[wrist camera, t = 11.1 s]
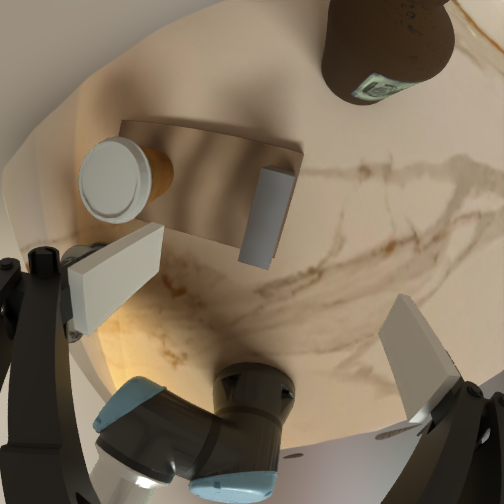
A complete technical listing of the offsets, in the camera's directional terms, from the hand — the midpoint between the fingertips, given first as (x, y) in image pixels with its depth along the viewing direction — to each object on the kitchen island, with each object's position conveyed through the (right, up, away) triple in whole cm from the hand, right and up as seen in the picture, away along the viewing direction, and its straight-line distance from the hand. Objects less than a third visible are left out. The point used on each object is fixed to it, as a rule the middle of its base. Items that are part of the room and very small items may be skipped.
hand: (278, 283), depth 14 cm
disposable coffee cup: (-15, +13, +22) cm, 30 cm away
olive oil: (+12, +25, +14) cm, 31 cm away
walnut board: (-9, +11, +22) cm, 26 cm away
